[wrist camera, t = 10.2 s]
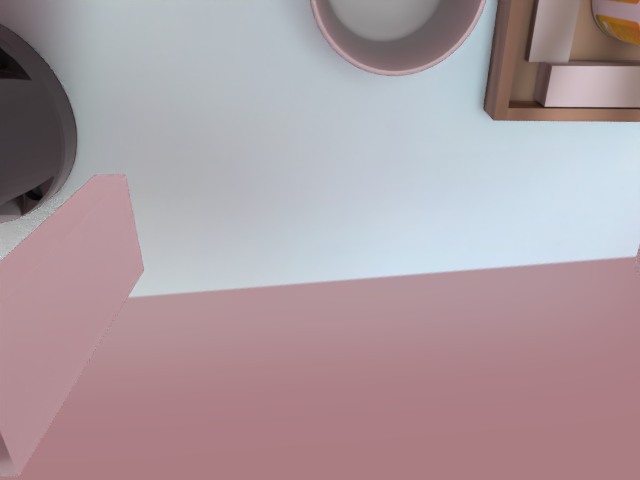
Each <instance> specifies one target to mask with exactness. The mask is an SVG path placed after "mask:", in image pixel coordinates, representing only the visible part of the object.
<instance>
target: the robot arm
mask: <svg viewBox="0 0 640 480" xmlns="http://www.w3.org/2000/svg"><path fill="white" fill-rule="evenodd" d="M75 153H76V128H75V122H74V117H73V113H72V110H71V107H70V104H69V101H68V99H67V96H66V94H65V92H64V90H63V88H62V86H61V84H60V83H59V81H58V79H57V78H56V76H55V75H54V73H53V72H52V70H51V69H50V68H49V66H48V65H47V64H46V63H45V61H44V60H43V59H42V58H41V57H40V56H39V55H38V53H37V52H36V51H35V50H34V49H33V48H32V47H30V46H29V45H28V44H27V43H26V42H25V41H24V40H22V39H21V38H20V37H19V36H17V35H16V34H15V33H13V32H12V31H10V30H9V29H7V28H5V27H4V26H2V25H0V223H3V222H8V221H12V220H15V219H18V218H20V217H22V216H24V215H27V214H29V213H30V212H32V211H34V210H35V209H37V208H38V207H39V206H41V205H42V204H43V203H44V202H46V201H47V200H48V199H50V198H51V197H52V196H53V195H54V194H55V193H56V192H57V191H58V190H59V189H60V188H61V187H62V186H63V184H64V183H65V181H66V179H67V178H68V176H69V174H70V171H71V169H72V166H73V163H74V159H75ZM633 268H634V269H635V270H636V271H637V272H638V273H639V275H640V246H639V249H638V253H637V256H636V260H635V263H634V267H633ZM143 271H144V267H143V262H142V257H141V252H140V247H139V242H138V237H137V231H136V226H135V221H134V216H133V211H132V206H131V201H130V196H129V190H128V185H127V180H126V175H94V176H93V177H92V178H91V179H90V180H89V181H88V182H87V183H86V184H85V185H83V186H82V187H81V188H80V189H79V190H78V191H77V192H76V193H75V194H74V195H73V196H71V197H70V198H69V199H68V200H67V201H66V202H65V203H64V204H63V205H62V206H60V207H59V208H58V209H57V210H56V211H55V212H54V213H53V214H52V215H51V216H50V217H48V218H47V219H46V220H45V221H44V222H43V223H42V224H41V225H40V226H39V227H37V228H36V229H35V230H34V231H33V232H32V233H31V234H30V235H29V236H28V237H27V238H25V239H24V240H23V241H22V242H21V243H20V244H19V245H18V246H17V247H16V248H14V249H13V250H12V251H11V252H10V253H9V254H8V255H7V256H6V257H5V258H3V259H2V260H1V261H0V477H19V475H20V473H21V472H22V470H23V469H24V467H25V465H26V464H27V462H28V460H29V459H30V457H31V455H32V454H33V452H34V450H35V449H36V447H37V445H38V444H39V442H40V441H41V439H42V437H43V436H44V434H45V432H46V431H47V429H48V427H49V426H50V424H51V422H52V421H53V419H54V417H55V416H56V414H57V412H58V411H59V409H60V407H61V406H62V404H63V403H64V401H65V399H66V398H67V396H68V394H69V393H70V391H71V389H72V388H73V386H74V384H75V383H76V381H77V380H78V378H79V376H80V374H81V373H82V371H83V369H84V368H85V366H86V365H87V363H88V361H89V360H90V358H91V356H92V355H93V353H94V352H95V350H96V348H97V347H98V345H99V343H100V341H101V340H102V338H103V337H104V335H105V333H106V332H107V330H108V328H109V327H110V325H111V324H112V322H113V320H114V318H115V317H116V315H117V314H118V312H119V310H120V309H121V307H122V305H123V304H124V302H125V300H126V299H127V297H128V295H129V294H130V292H131V291H132V289H133V287H134V286H135V284H136V282H137V281H138V279H139V277H140V276H141V274H142V272H143Z"/></svg>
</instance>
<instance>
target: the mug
mask: <svg viewBox="0 0 640 480" xmlns="http://www.w3.org/2000/svg"><path fill="white" fill-rule="evenodd" d="M310 3H311V7H312V11H313V15H314V17H315V20H316V22H317V25H318V27H319V29H320V31H321V32H322V34H323V36H324V38H325V39H326V40H327V42H328V43H329V44H330V46H331V47H332V48H333V49H334V50H335V51H336V52H337V53H338V54H339V55H340V56H341V57H343V58H344V59H345V60H346V61H348V62H349V63H351V64H353V65H354V66H356V67H358V68H360V69H363V70H365V71H368V72H371V73H375V74H379V75H387V76H401V75H408V74H413V73H417V72H420V71H423V70H425V69H428V68H430V67H433V66H434V65H436V64H438V63H440V62H441V61H443V60H444V59H446V58H447V57H448V56H450V55H451V54H452V53H453V52H454V51H455V50H456V49H457V48H459V47H460V46H461V45H462V43H463V42H464V41H465V40H466V38H467V37H468V36H469V35H470V33H471V32H472V30H473V29H474V27H475V25H476V24H477V22H478V20H479V18H480V16H481V14H482V11H483V8H484V5H485V3H486V0H310Z"/></svg>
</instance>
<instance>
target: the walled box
mask: <svg viewBox="0 0 640 480" xmlns="http://www.w3.org/2000/svg"><path fill="white" fill-rule="evenodd" d="M484 110H485V111H486V112H487V114H488V115H489V116H490V117H491V118H492V119H493V120H507V121H614V122H640V45H636V44H633V43H629V42H625V41H621V40H618V39H615V38H613V37H611V36H609V35H607V34H606V33H605V32H603V31H602V30H601V28H600V27H599V26H598V24H597V22H596V20H595V18H594V15H593V10H592V0H498V7H497V14H496V21H495V29H494V36H493V43H492V51H491V58H490V65H489V73H488V80H487V87H486V95H485V102H484Z"/></svg>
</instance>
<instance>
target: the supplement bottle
mask: <svg viewBox="0 0 640 480" xmlns="http://www.w3.org/2000/svg"><path fill="white" fill-rule="evenodd" d="M592 10H593V15H594V18H595V20H596V22H597V24H598V26H599V27H600V28H601V30H602V31H603V32H605V33H606V34H607V35H609V36H611V37H613V38H615V39H618V40H621V41H625V42H629V43H633V44H636V45H640V0H592Z"/></svg>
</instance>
